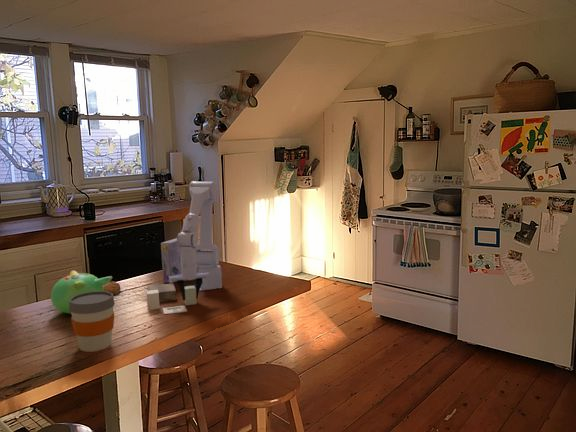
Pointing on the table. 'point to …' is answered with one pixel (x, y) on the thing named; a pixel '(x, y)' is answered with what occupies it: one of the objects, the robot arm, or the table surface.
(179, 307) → the card
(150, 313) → the table surface
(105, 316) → the reusable coffee cup
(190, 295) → the sage block
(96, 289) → the green rounded plush
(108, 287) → the pastry
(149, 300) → the cream block
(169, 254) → the cake pan box
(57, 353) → the table surface
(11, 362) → the table surface
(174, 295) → the taupe square block
